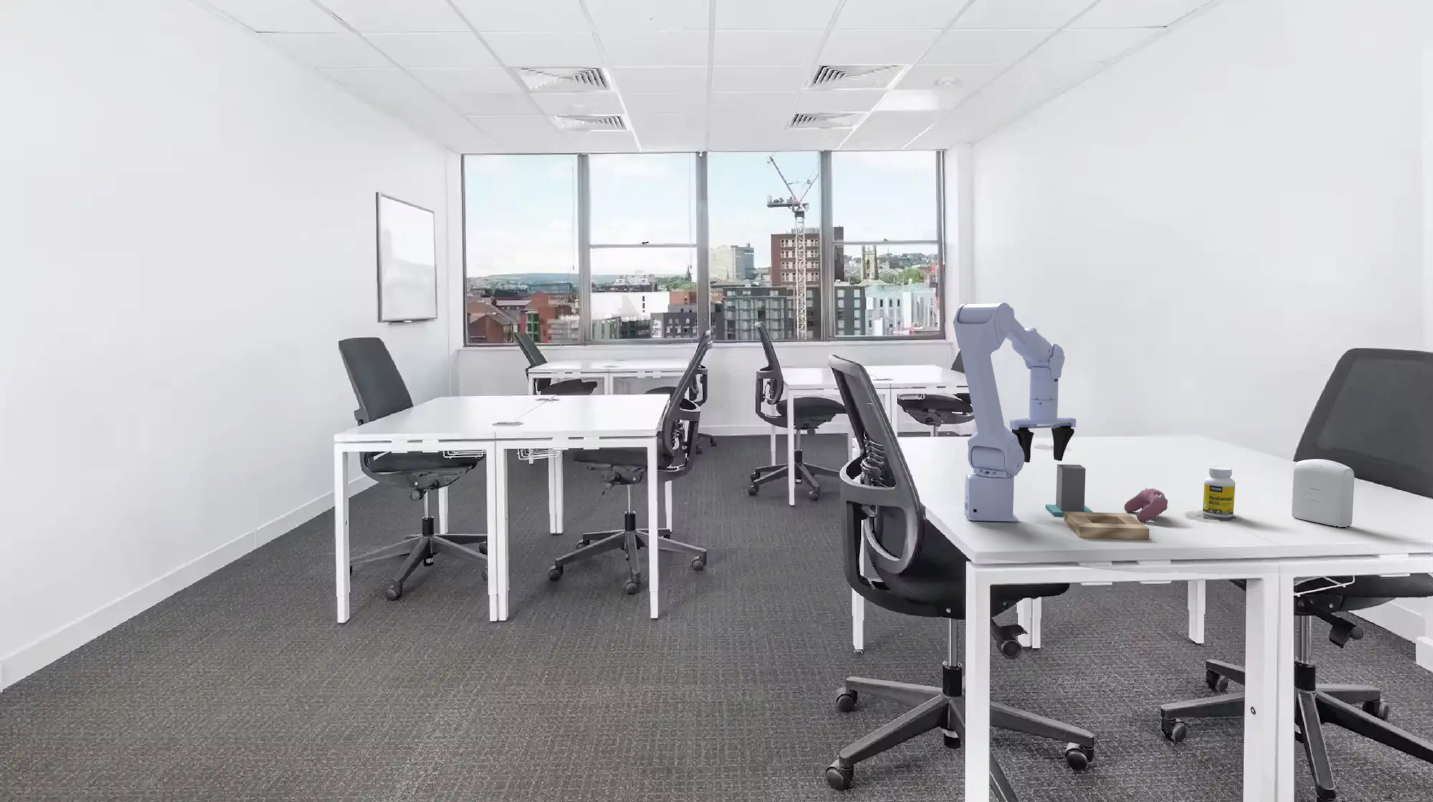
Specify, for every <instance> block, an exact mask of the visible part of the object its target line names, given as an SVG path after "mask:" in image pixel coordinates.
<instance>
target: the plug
mask: <svg viewBox="0 0 1433 802" xmlns="http://www.w3.org/2000/svg"><path fill="white" fill-rule="evenodd" d="M1086 471H1087V470H1086V467H1084V466H1083V465H1081V464H1068V463H1067V464H1065V463H1064V464H1059V463H1057V464H1056V492H1055V493H1056V494H1055V495H1056V496H1055V505H1056V507H1057V508H1058V509H1059V510H1060V511H1073V512H1084V505H1085V503H1086V501H1085V499H1086Z"/></svg>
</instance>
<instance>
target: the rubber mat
mask: <svg viewBox="0 0 1433 802" xmlns="http://www.w3.org/2000/svg"><path fill="white" fill-rule="evenodd" d="M1044 506H1045V509H1046V510H1047V511H1048V513H1050V514H1051V516H1053V517H1064V512H1073V511H1060V510H1059V509H1058V508H1057V507H1056V504H1045V505H1044ZM1084 512H1094V511H1093V510H1092V509H1090V507H1088V506H1087V505H1085V504H1084Z"/></svg>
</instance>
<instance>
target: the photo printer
mask: <svg viewBox="0 0 1433 802" xmlns="http://www.w3.org/2000/svg"><path fill="white" fill-rule="evenodd" d="M1292 477H1293V480H1292V498H1291V502H1292V504H1291V516H1292V517H1293V518H1294V519H1298V520H1303V521H1308V522H1313V523H1318V524H1324V525H1327V526H1331V525H1332V526H1333V527H1336V526H1338V527H1337V528H1341V527H1346V528H1348V527H1347V526H1350V527H1351V525H1352V524H1353V516H1354V515H1353V514H1354V513H1353V510H1354V495H1355V494H1354V491H1355V472H1354V470H1353V469H1352V467H1349V466H1347V465H1346V464H1343V463H1340V462H1337V461H1333V460H1329V459H1321V458H1315V459H1314V458H1313V459H1303V460H1300V461H1297V462H1296V463H1295V465H1294V469H1293V476H1292Z"/></svg>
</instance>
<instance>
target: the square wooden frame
mask: <svg viewBox="0 0 1433 802" xmlns="http://www.w3.org/2000/svg"><path fill="white" fill-rule="evenodd" d="M1063 523H1065V525H1067V527H1069V528H1070V529H1071V530H1072V531H1073V532H1074V533H1075V534H1076V535H1077V536H1078V537H1079V538H1091V539H1092V538H1093V539H1125V540H1150V528H1149V527H1148V526H1146V525H1145V524H1144V523H1143V522H1140V521H1139V520H1138V519H1137V518H1136V517H1135V516H1133V515H1131V514H1130V512H1094V511H1093V512H1064V516H1063Z"/></svg>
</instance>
